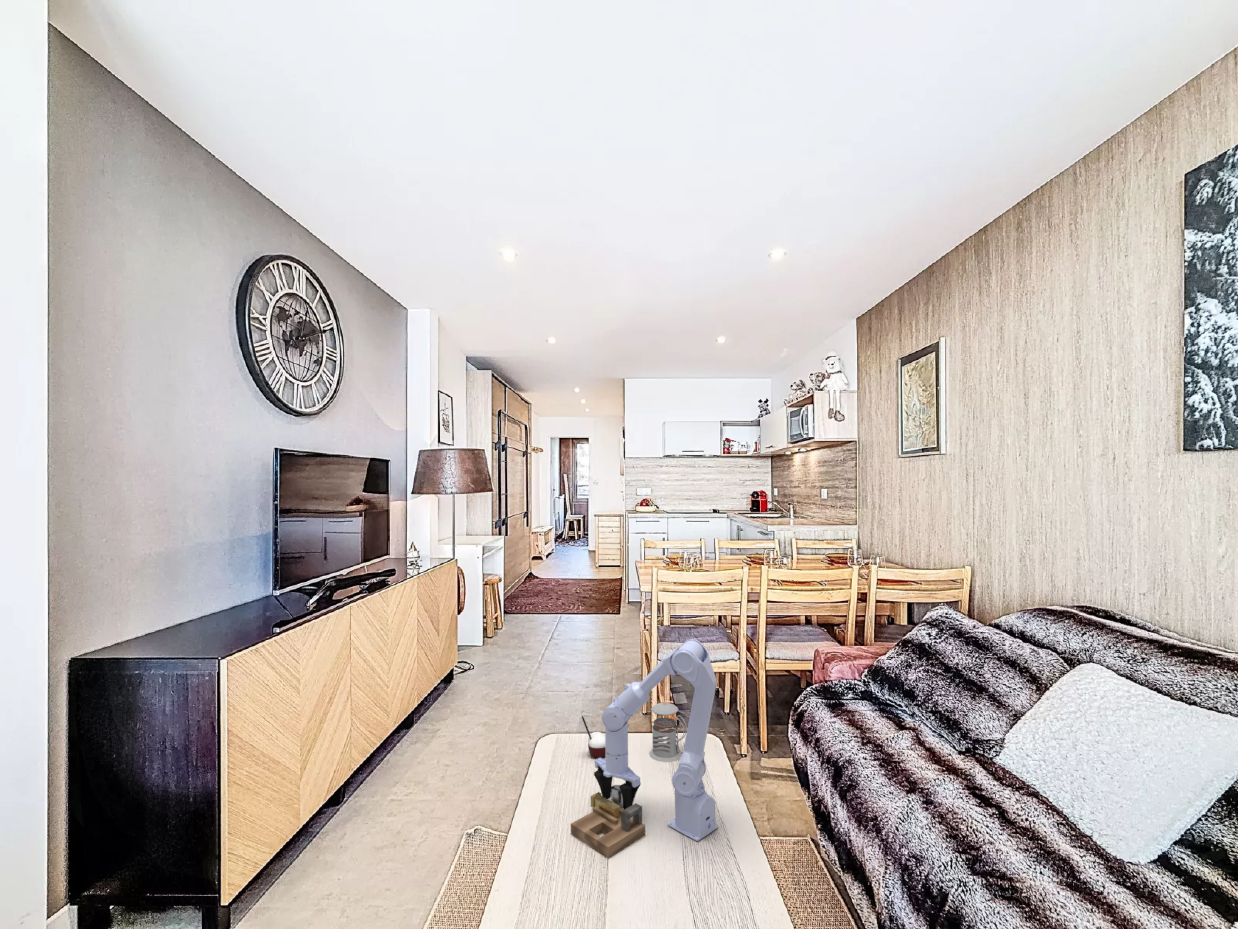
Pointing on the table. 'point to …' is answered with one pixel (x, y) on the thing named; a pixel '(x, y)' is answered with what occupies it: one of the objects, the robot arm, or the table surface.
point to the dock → (610, 829)
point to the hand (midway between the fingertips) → (617, 804)
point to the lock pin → (605, 805)
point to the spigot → (616, 795)
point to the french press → (669, 749)
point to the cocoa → (596, 743)
